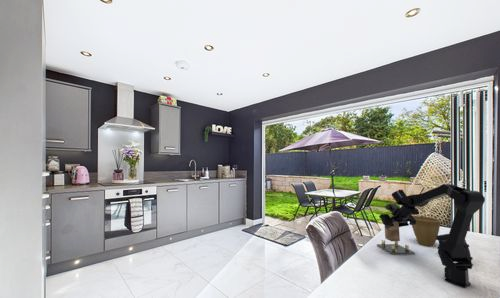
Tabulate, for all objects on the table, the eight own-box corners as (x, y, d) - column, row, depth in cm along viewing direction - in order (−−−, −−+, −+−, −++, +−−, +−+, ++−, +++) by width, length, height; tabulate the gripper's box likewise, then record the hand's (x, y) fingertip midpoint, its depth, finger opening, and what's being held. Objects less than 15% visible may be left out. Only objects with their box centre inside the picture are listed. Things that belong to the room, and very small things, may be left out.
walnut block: (399, 241, 122) (398, 217, 123) (391, 241, 122) (390, 217, 123) (393, 238, 127) (391, 215, 128) (385, 238, 127) (384, 215, 128)
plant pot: (448, 249, 127) (447, 221, 129) (423, 248, 128) (421, 220, 129) (428, 240, 142) (427, 215, 143) (405, 240, 142) (404, 215, 144)
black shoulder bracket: (478, 265, 103) (458, 232, 109) (447, 267, 113) (431, 236, 120) (481, 263, 104) (461, 231, 111) (450, 265, 114) (434, 236, 121)
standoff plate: (415, 254, 118) (414, 246, 119) (392, 254, 118) (392, 247, 118) (397, 245, 131) (396, 239, 132) (376, 245, 130) (376, 239, 131)
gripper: (410, 199, 124) (396, 215, 134) (381, 199, 121) (368, 215, 131) (424, 216, 115) (407, 231, 125) (392, 217, 113) (378, 232, 123)
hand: (389, 227), depth 126 cm, fingers closed on walnut block, 5 cm apart
